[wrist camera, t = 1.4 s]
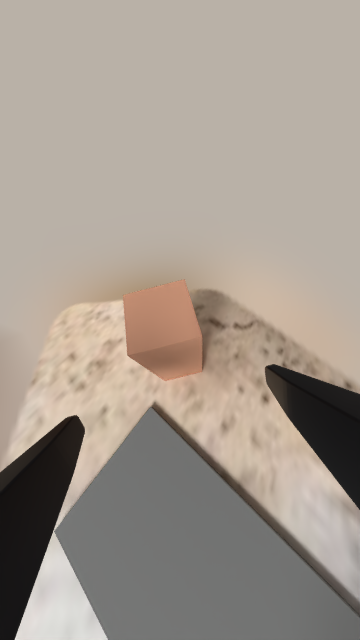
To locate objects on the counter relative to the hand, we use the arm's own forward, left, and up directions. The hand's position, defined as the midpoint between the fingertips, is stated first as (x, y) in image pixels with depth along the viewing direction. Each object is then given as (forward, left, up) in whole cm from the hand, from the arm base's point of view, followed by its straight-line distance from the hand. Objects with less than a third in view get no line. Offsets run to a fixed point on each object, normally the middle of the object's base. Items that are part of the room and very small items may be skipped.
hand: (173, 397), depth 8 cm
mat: (-8, +9, -11) cm, 17 cm away
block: (+4, -3, -11) cm, 13 cm away
